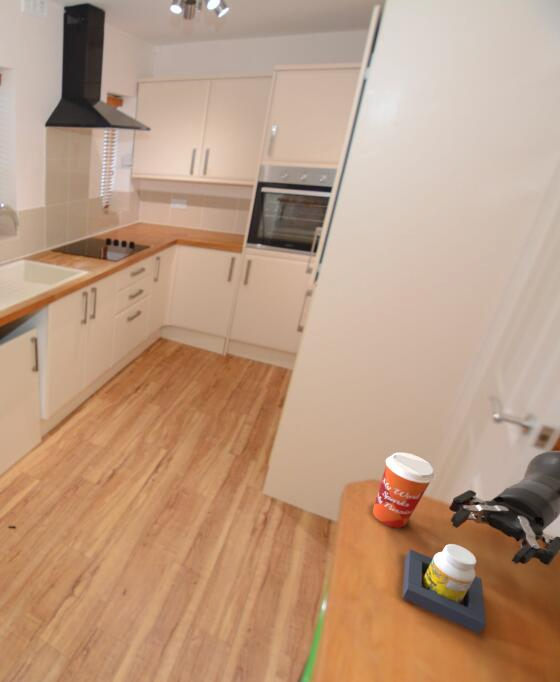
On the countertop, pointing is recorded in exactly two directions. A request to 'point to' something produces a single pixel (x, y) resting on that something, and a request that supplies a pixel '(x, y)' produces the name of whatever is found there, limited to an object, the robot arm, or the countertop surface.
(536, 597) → the countertop surface
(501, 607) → the countertop surface
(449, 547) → the supplement bottle
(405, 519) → the paper cup
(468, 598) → the bottle holder
